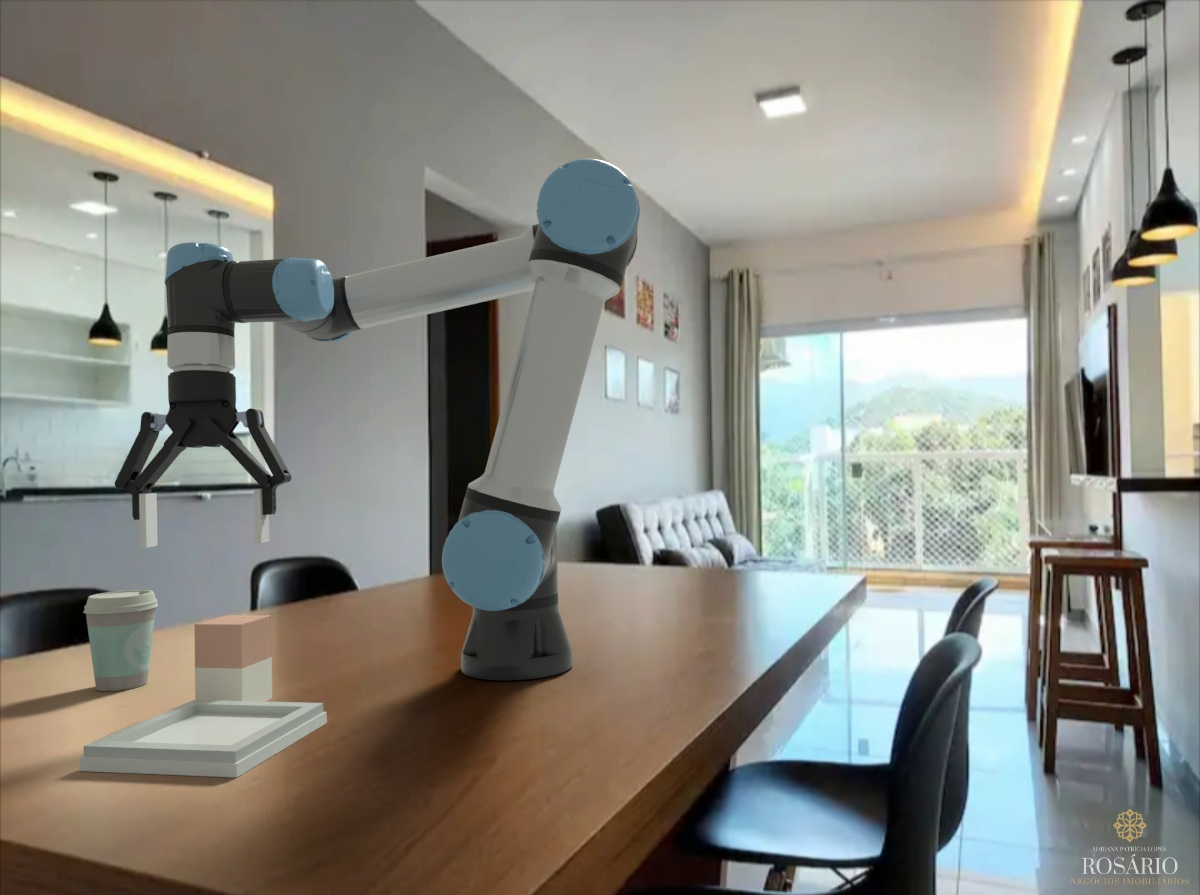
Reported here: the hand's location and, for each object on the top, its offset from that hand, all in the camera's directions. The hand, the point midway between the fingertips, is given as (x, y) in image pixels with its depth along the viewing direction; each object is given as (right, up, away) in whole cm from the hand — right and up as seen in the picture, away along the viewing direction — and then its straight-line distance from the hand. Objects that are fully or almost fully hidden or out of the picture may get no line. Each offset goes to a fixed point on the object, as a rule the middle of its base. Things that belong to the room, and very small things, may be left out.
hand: (205, 545), depth 100 cm
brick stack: (+5, -19, -3) cm, 19 cm away
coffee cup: (-15, -20, +7) cm, 25 cm away
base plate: (+9, -18, -18) cm, 27 cm away
